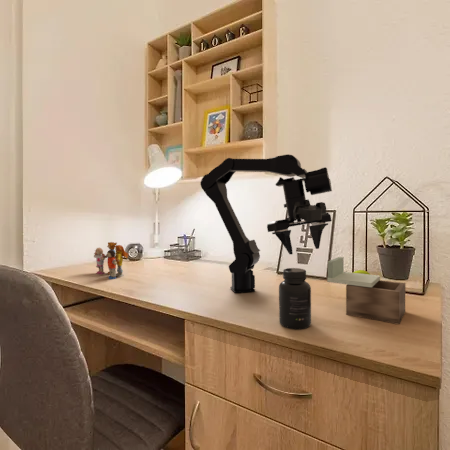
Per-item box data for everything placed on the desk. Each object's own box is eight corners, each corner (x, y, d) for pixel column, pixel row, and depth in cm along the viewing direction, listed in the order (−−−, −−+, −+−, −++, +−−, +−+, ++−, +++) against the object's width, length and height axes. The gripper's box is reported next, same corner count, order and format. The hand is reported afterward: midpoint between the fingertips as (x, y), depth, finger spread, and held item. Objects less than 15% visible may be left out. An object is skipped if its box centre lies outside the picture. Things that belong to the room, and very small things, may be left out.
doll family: (92, 272, 129) (91, 242, 128) (114, 269, 135) (113, 240, 135) (112, 280, 113) (111, 245, 113) (136, 276, 120) (135, 243, 119)
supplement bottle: (275, 319, 69) (275, 267, 69) (304, 318, 70) (304, 266, 69) (284, 331, 62) (283, 273, 62) (316, 329, 63) (315, 272, 62)
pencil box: (346, 314, 72) (346, 285, 71) (356, 304, 80) (357, 277, 79) (399, 324, 65) (399, 292, 65) (405, 311, 73) (405, 283, 73)
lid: (327, 281, 74) (327, 261, 74) (339, 275, 82) (339, 256, 82) (371, 287, 68) (371, 265, 68) (380, 279, 76) (380, 259, 76)
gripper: (282, 197, 77) (292, 258, 77) (339, 189, 84) (349, 245, 83) (262, 203, 87) (271, 257, 87) (314, 196, 94) (323, 246, 94)
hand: (304, 251), depth 87 cm, fingers open, 9 cm apart
